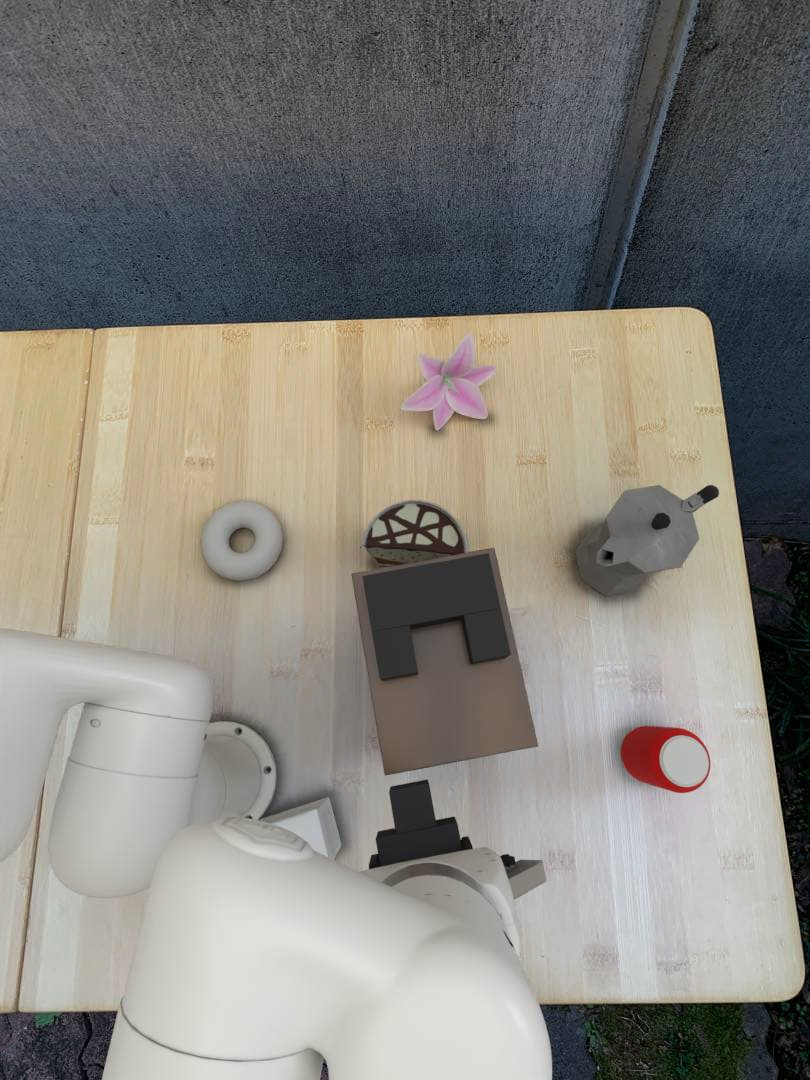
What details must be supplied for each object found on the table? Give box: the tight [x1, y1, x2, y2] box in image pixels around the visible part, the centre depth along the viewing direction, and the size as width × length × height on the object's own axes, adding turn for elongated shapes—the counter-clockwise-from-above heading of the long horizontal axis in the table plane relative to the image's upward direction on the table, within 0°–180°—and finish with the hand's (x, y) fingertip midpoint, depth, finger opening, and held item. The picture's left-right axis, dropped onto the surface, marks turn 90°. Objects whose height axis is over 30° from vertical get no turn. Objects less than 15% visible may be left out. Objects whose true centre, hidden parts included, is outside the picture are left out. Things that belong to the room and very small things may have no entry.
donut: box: [200, 500, 284, 581], centre depth 83 cm, size 10×4×10 cm
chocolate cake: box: [359, 499, 471, 567], centre depth 79 cm, size 12×6×10 cm, turn 84°
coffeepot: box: [574, 484, 720, 598], centre depth 75 cm, size 15×9×18 cm, turn 121°
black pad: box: [363, 553, 511, 681], centre depth 53 cm, size 10×8×3 cm
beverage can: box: [620, 725, 711, 794], centre depth 72 cm, size 6×6×12 cm
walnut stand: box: [351, 547, 539, 776], centre depth 67 cm, size 12×16×27 cm
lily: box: [399, 332, 499, 431], centre depth 85 cm, size 12×12×10 cm
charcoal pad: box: [375, 779, 462, 867], centre depth 50 cm, size 6×9×3 cm, turn 10°
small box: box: [259, 796, 342, 860], centre depth 71 cm, size 8×6×10 cm
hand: (423, 867), depth 50 cm, fingers closed on charcoal pad, 6 cm apart
